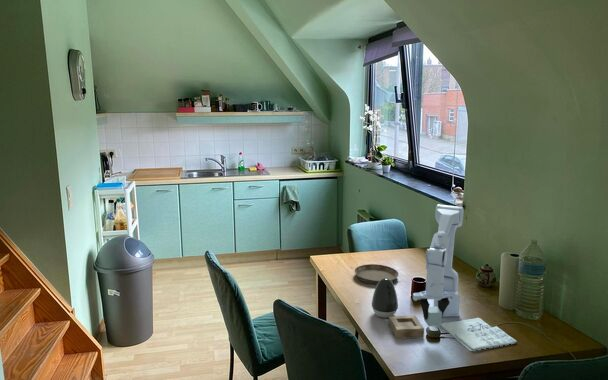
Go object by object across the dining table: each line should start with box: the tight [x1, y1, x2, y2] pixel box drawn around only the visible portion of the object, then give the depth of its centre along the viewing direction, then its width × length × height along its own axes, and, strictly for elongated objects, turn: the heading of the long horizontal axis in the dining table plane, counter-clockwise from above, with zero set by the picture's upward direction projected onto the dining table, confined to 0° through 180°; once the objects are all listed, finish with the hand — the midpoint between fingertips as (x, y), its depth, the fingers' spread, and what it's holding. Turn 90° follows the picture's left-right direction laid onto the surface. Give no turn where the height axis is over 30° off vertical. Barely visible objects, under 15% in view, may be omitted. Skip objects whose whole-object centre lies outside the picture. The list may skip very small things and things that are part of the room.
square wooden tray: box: [388, 314, 425, 339], centre depth 168 cm, size 10×10×4 cm
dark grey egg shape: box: [371, 278, 399, 319], centre depth 179 cm, size 10×10×15 cm
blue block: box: [423, 306, 443, 327], centre depth 160 cm, size 4×4×5 cm
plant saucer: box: [354, 263, 399, 285], centre depth 217 cm, size 21×21×3 cm
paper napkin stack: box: [440, 317, 517, 352], centre depth 166 cm, size 19×20×2 cm
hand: (432, 317), depth 160 cm, fingers closed on blue block, 4 cm apart
